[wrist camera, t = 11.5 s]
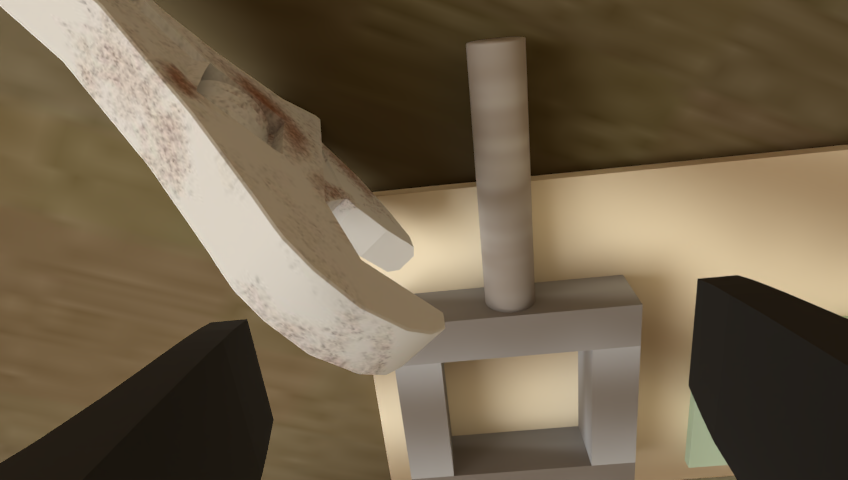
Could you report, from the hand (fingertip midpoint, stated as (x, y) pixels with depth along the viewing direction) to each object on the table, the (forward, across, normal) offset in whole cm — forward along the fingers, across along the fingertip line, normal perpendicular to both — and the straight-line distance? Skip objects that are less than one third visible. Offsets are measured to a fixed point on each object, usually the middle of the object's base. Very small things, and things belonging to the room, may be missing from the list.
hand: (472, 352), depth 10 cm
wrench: (+11, +11, -9) cm, 17 cm away
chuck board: (+10, -6, +5) cm, 13 cm away
